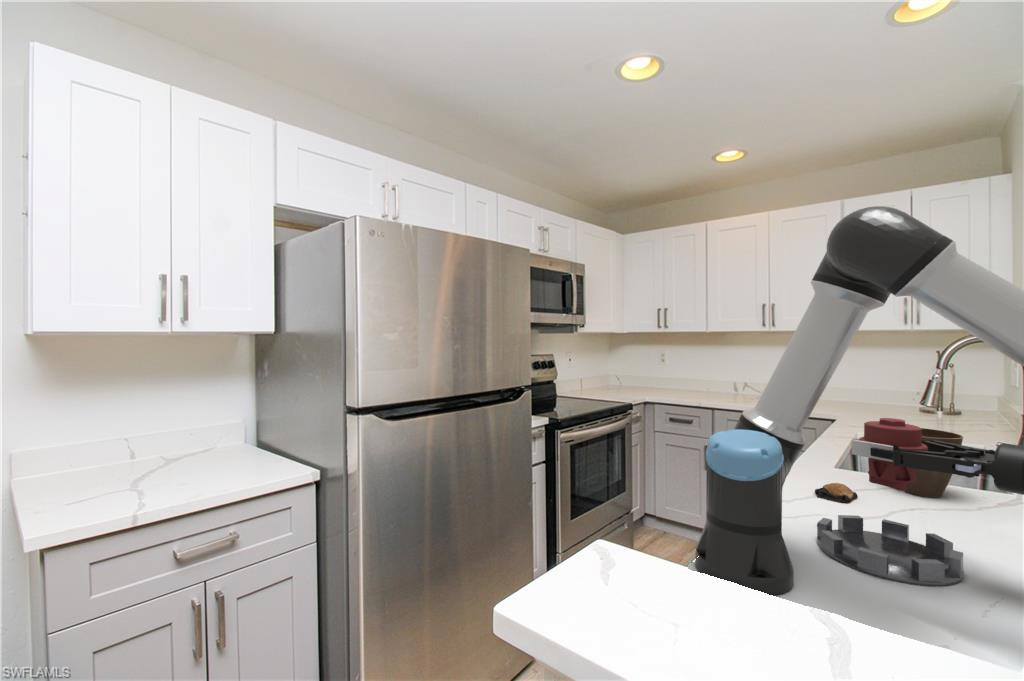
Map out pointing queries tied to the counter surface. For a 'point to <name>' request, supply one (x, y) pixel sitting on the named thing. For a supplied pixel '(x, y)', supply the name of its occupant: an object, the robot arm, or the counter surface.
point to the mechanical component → (889, 434)
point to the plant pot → (932, 480)
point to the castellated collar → (891, 552)
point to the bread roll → (836, 493)
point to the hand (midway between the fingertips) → (864, 443)
